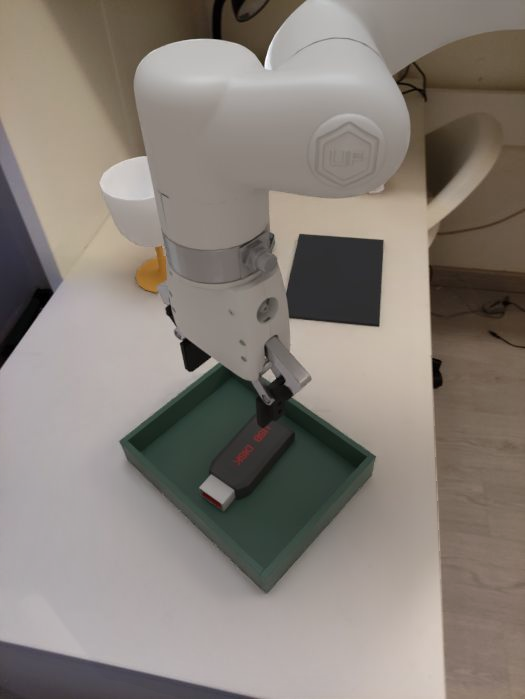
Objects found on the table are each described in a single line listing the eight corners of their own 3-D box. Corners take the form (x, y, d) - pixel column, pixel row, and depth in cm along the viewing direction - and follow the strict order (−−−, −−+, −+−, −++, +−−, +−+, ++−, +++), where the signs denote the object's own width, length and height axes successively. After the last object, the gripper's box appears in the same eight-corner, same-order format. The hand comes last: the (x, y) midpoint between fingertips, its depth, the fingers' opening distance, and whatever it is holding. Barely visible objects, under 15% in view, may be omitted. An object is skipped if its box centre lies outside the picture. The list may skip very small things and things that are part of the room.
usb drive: (295, 439, 63) (295, 426, 61) (231, 518, 57) (228, 506, 55) (260, 418, 65) (259, 405, 63) (194, 491, 59) (191, 479, 57)
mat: (379, 326, 76) (379, 324, 75) (280, 317, 78) (280, 315, 77) (383, 241, 89) (383, 239, 89) (299, 235, 91) (299, 233, 91)
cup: (205, 291, 82) (190, 192, 70) (128, 304, 81) (98, 206, 68) (196, 246, 90) (180, 150, 77) (126, 258, 89) (98, 161, 76)
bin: (372, 474, 60) (376, 456, 57) (266, 594, 52) (265, 579, 49) (232, 373, 71) (229, 353, 68) (126, 459, 63) (118, 440, 60)
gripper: (347, 265, 36) (330, 415, 49) (178, 178, 44) (201, 325, 57) (271, 324, 32) (274, 469, 45) (102, 217, 41) (145, 365, 53)
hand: (233, 388), depth 51 cm, fingers open, 9 cm apart
